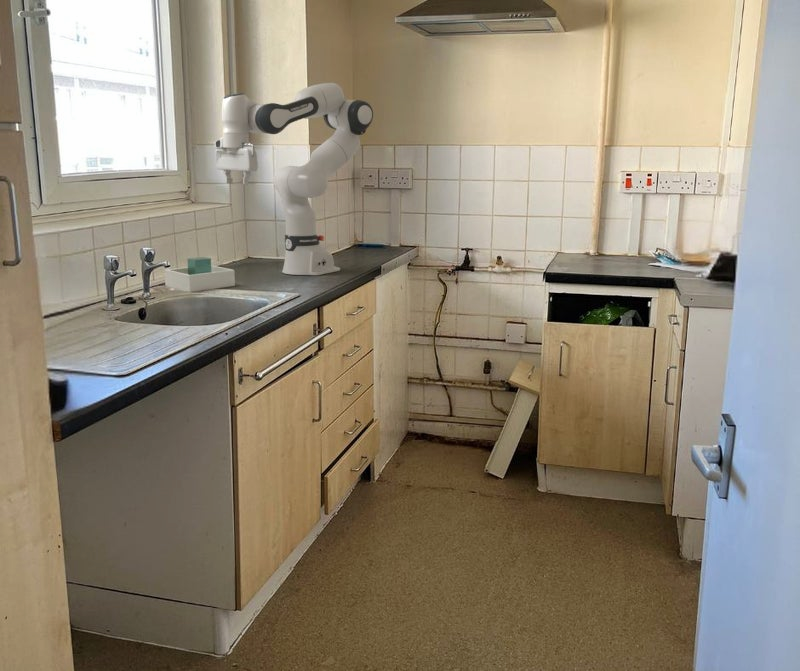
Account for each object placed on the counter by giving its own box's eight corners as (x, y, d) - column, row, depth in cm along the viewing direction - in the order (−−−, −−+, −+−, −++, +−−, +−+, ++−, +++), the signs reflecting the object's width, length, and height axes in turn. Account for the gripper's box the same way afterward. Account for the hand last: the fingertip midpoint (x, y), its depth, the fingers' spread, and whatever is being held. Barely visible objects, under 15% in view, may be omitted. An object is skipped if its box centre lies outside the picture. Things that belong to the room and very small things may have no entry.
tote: (210, 282, 274) (209, 264, 273) (235, 287, 264) (234, 270, 263) (165, 287, 262) (164, 269, 261) (190, 294, 252) (189, 275, 251)
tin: (204, 277, 266) (203, 256, 265) (211, 279, 263) (210, 258, 262) (188, 279, 262) (187, 258, 260) (195, 281, 259) (194, 260, 257)
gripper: (261, 143, 265) (262, 185, 269) (226, 142, 279) (228, 182, 282) (245, 143, 261) (247, 185, 264) (211, 142, 275) (213, 182, 278)
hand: (237, 184), depth 273 cm, fingers open, 8 cm apart
